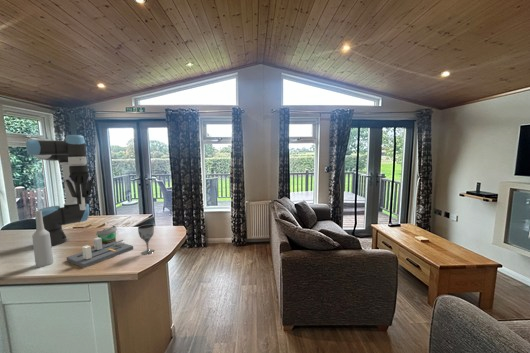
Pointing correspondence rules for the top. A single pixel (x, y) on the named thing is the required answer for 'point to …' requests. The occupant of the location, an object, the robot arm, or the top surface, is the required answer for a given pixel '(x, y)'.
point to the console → (100, 254)
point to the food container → (107, 235)
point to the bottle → (42, 243)
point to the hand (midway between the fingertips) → (82, 209)
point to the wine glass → (146, 236)
